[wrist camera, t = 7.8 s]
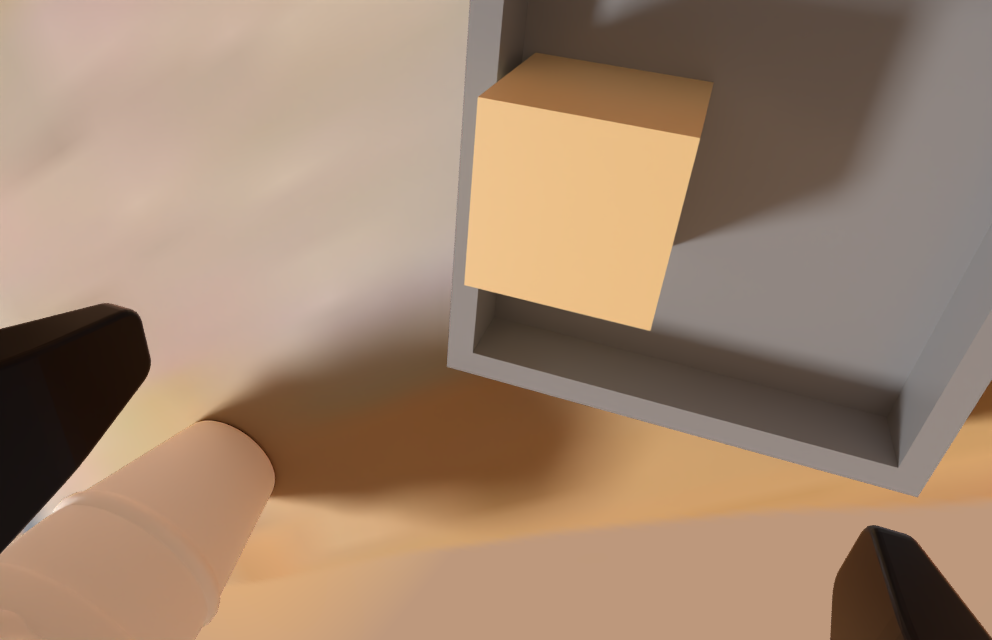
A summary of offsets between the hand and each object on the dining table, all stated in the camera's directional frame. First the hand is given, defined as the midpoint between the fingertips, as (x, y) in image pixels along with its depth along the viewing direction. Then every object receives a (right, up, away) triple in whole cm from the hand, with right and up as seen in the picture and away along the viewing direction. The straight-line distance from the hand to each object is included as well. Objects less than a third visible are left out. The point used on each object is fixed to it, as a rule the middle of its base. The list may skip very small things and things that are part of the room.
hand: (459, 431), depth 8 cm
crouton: (+3, +5, +8) cm, 10 cm away
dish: (+6, +5, +8) cm, 11 cm away
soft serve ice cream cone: (-10, -4, +21) cm, 23 cm away
